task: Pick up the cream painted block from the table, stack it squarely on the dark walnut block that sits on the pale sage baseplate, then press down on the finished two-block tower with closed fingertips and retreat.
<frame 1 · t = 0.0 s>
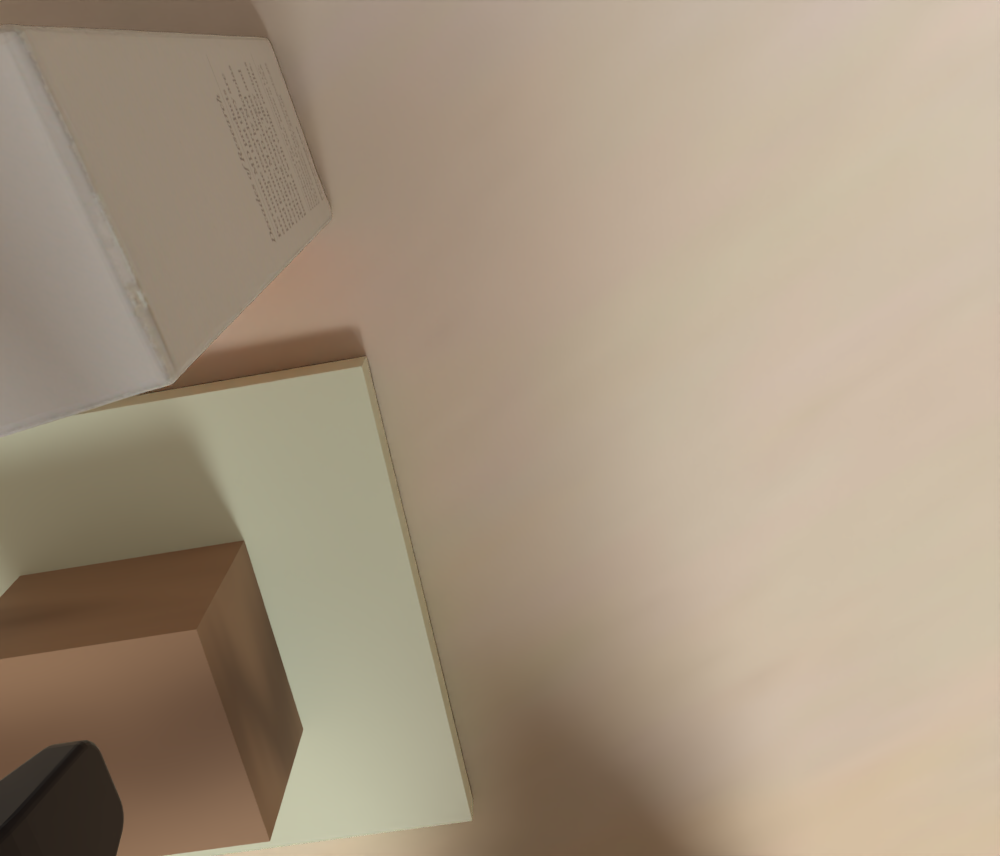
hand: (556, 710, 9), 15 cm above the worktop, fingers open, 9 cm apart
skincare box: (190, 168, 22), on the worktop
brick walnut: (166, 655, 25), point 1 cm above the worktop, touching baseplate
baseplate: (176, 638, 26), on the worktop
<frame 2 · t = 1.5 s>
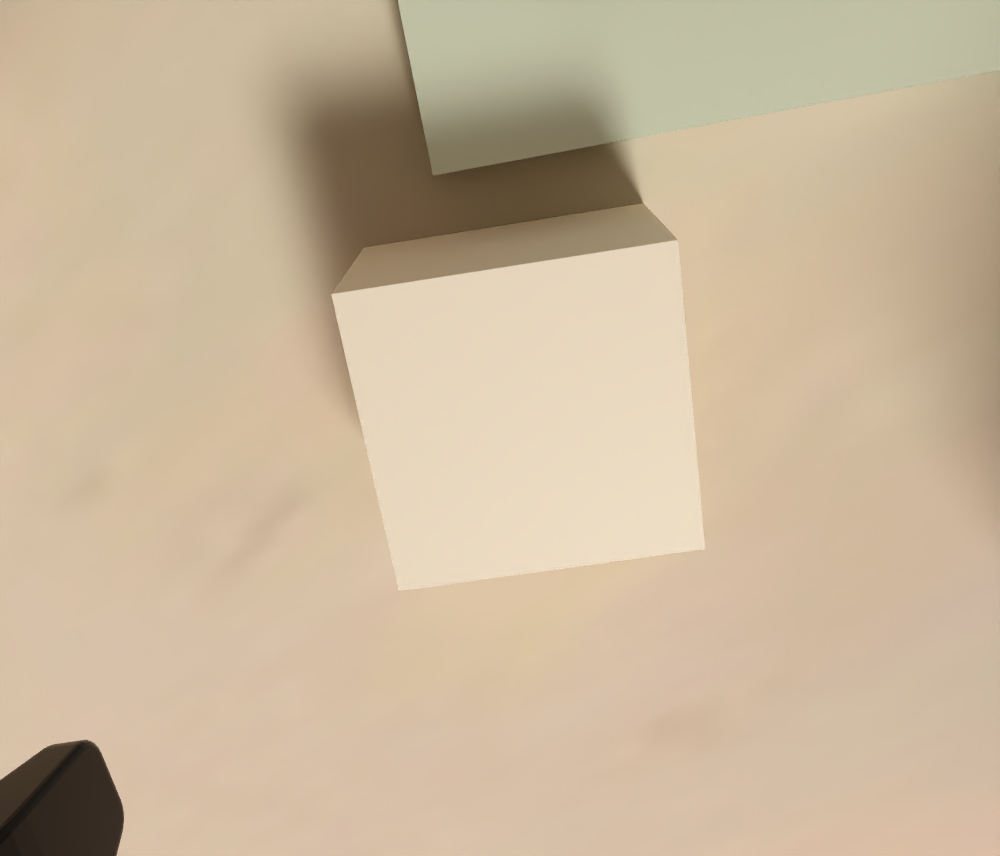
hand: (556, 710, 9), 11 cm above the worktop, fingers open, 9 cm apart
brick cream: (522, 356, 20), on the worktop
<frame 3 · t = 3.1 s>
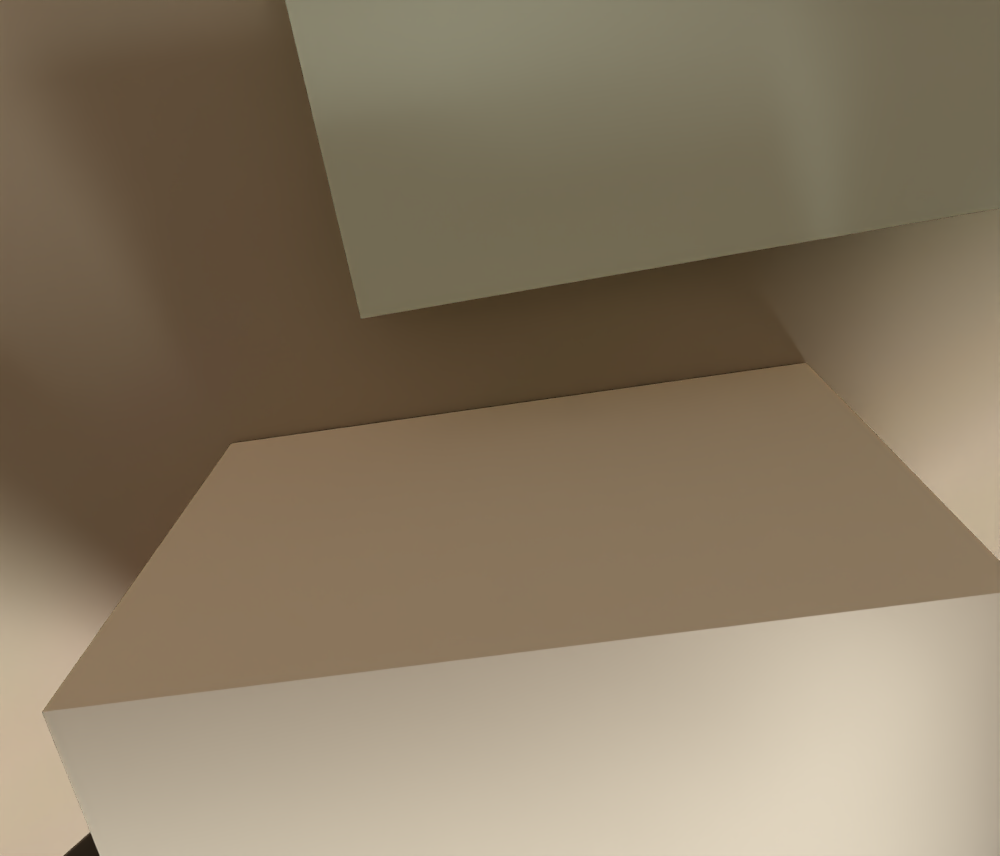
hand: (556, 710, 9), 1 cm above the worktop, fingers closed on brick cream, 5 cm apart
brick cream: (551, 646, 10), on the worktop, touching gripper
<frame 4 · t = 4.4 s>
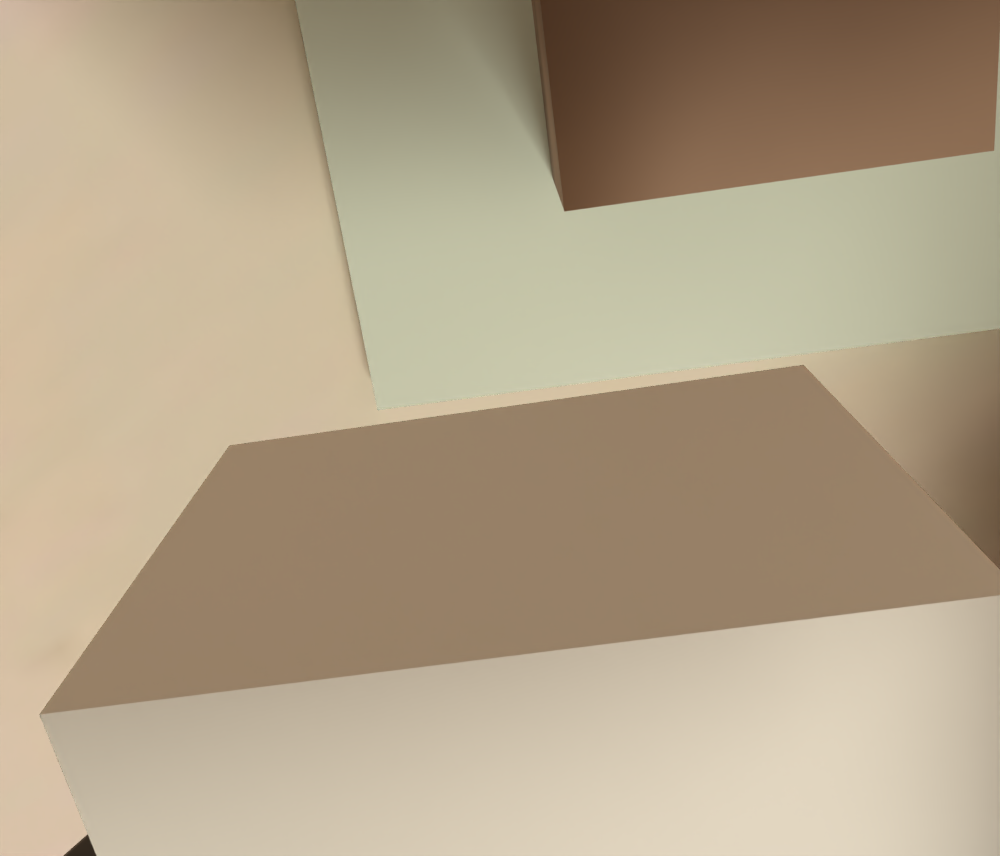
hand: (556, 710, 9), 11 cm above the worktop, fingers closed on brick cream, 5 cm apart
brick cream: (549, 648, 10), point 10 cm above the worktop, touching gripper
when the fingers open (7 cm above the worktop, at t = 5.9 s): brick cream stays where it is, resting on brick walnut.
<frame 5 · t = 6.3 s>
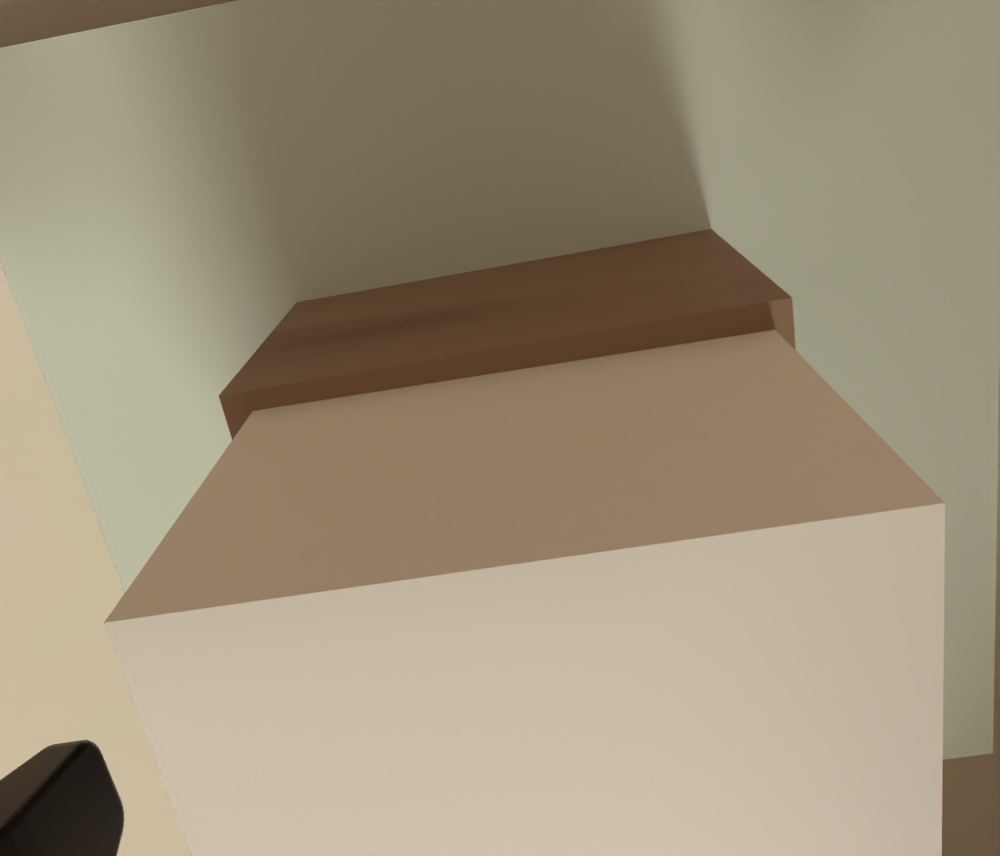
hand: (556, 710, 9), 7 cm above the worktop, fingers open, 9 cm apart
brick walnut: (534, 456, 15), point 1 cm above the worktop, touching baseplate, brick cream
baseplate: (533, 437, 15), on the worktop
brick cream: (547, 596, 11), point 5 cm above the worktop, touching brick walnut
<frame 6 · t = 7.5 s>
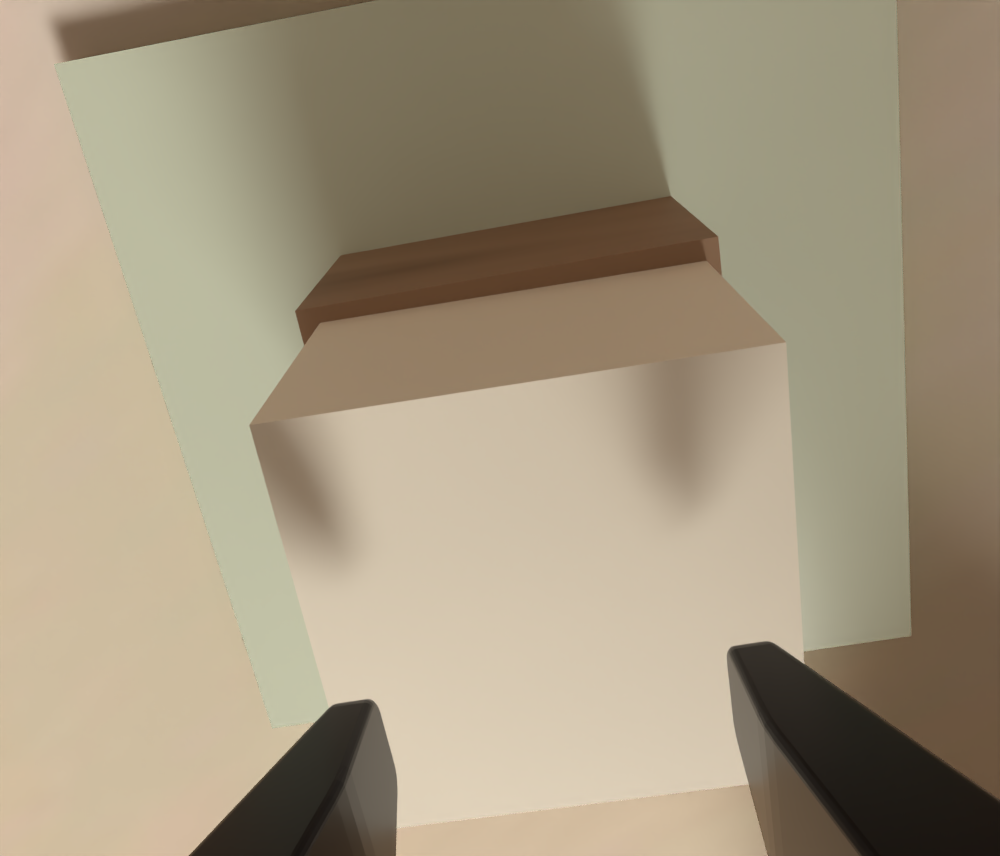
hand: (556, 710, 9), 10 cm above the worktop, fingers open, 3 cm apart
brick walnut: (531, 382, 18), point 1 cm above the worktop, touching baseplate, brick cream
baseplate: (530, 369, 19), on the worktop
brick cream: (539, 468, 14), point 5 cm above the worktop, touching brick walnut
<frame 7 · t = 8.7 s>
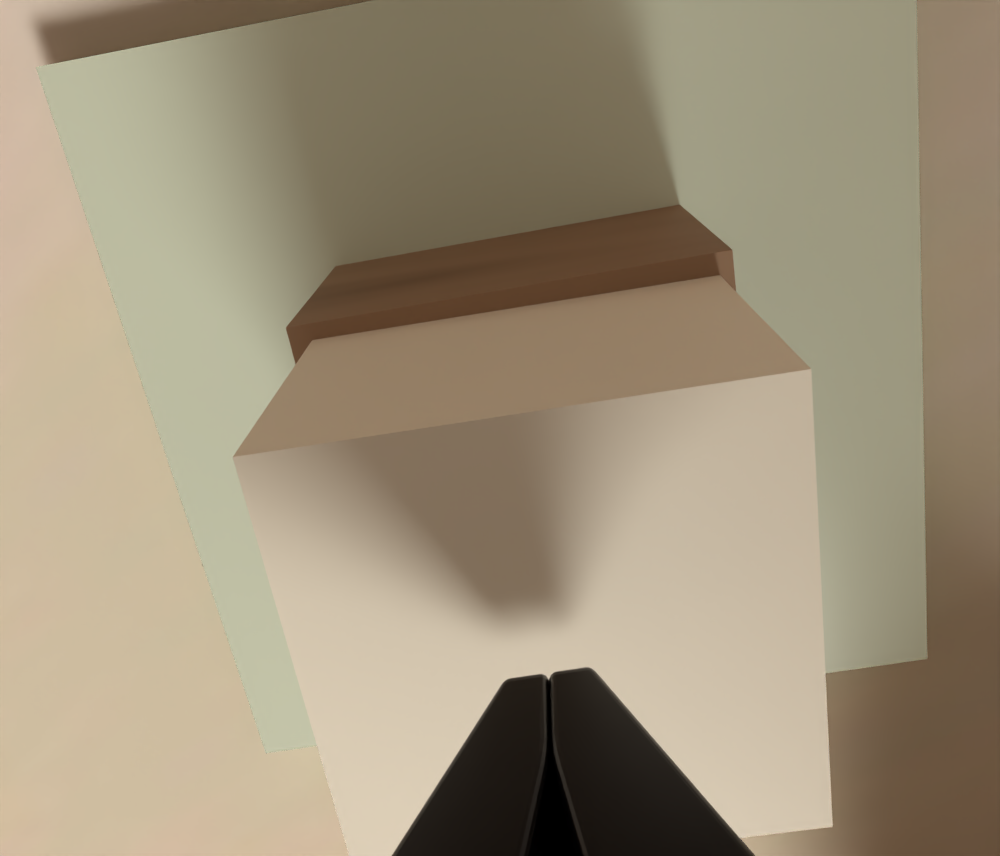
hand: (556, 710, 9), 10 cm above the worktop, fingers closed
brick walnut: (533, 397, 17), point 1 cm above the worktop, touching baseplate, brick cream
baseplate: (532, 383, 18), on the worktop
brick cream: (543, 492, 14), point 5 cm above the worktop, touching brick walnut
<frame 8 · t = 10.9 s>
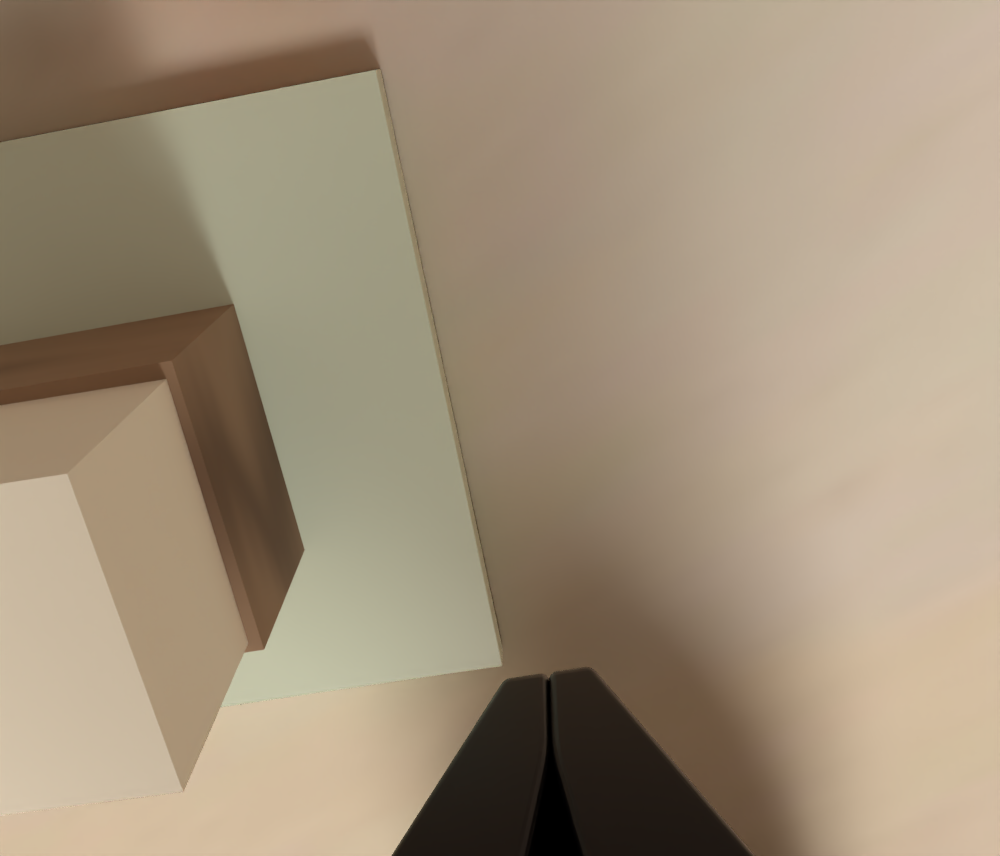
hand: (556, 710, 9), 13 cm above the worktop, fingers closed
brick walnut: (142, 454, 21), point 1 cm above the worktop, touching baseplate, brick cream
baseplate: (154, 441, 22), on the worktop
brick cream: (67, 539, 18), point 5 cm above the worktop, touching brick walnut
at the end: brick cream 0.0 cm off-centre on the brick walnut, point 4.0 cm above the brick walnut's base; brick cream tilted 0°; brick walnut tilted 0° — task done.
